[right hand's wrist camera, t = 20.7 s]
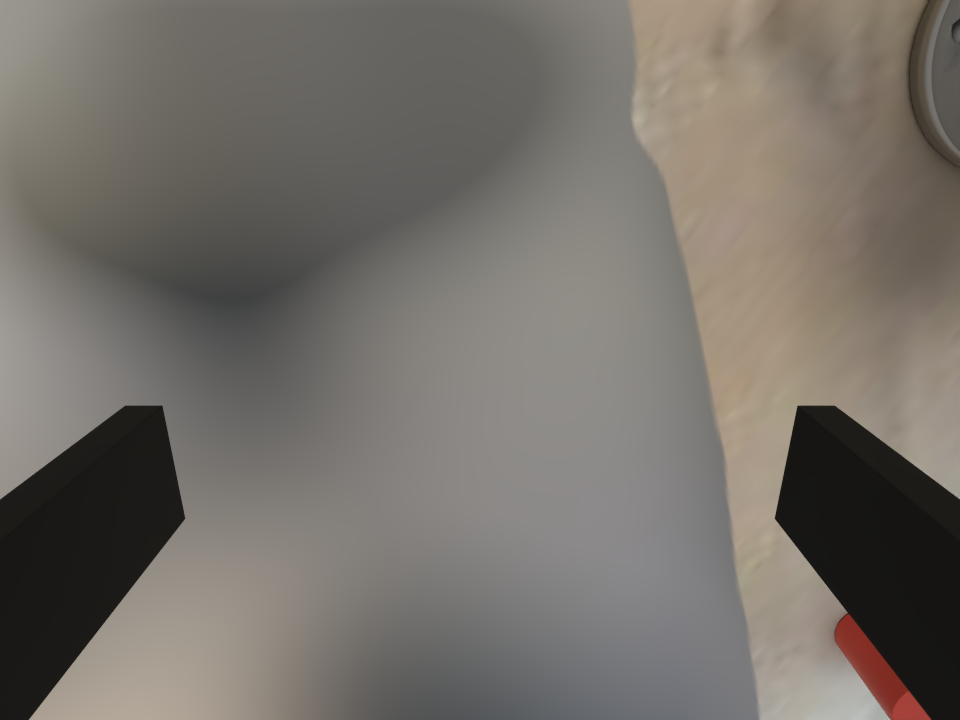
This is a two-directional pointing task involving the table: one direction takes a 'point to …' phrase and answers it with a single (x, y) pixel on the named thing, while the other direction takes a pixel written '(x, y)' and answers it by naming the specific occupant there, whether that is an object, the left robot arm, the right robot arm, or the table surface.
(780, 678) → the table surface
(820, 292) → the table surface
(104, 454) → the right robot arm
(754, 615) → the table surface
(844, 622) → the canister
